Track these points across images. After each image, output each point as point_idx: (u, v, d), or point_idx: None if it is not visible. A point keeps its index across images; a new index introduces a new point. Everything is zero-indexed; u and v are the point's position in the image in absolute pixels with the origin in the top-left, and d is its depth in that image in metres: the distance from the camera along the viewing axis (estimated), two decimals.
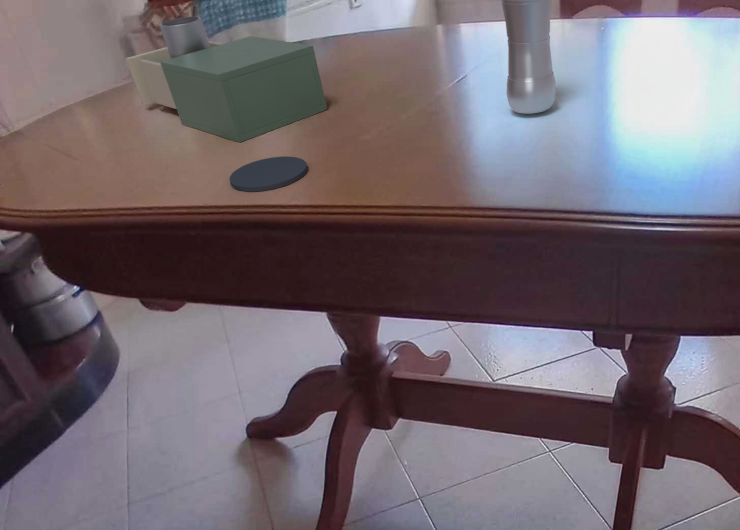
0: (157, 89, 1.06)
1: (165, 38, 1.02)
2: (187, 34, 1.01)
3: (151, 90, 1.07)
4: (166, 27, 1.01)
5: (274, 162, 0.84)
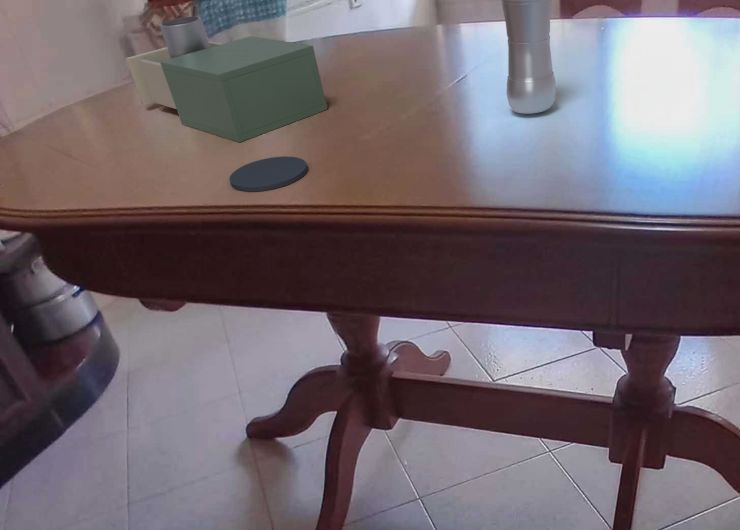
0: (157, 89, 1.06)
1: (165, 38, 1.02)
2: (187, 34, 1.01)
3: (151, 90, 1.07)
4: (166, 27, 1.01)
5: (274, 162, 0.84)
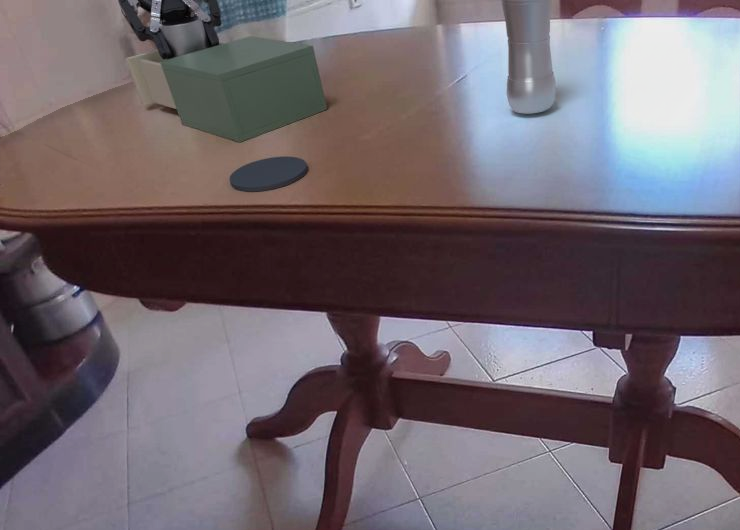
0: (157, 89, 1.06)
1: (165, 38, 1.02)
2: (186, 34, 1.01)
3: (151, 90, 1.07)
4: (166, 27, 1.01)
5: (274, 162, 0.84)
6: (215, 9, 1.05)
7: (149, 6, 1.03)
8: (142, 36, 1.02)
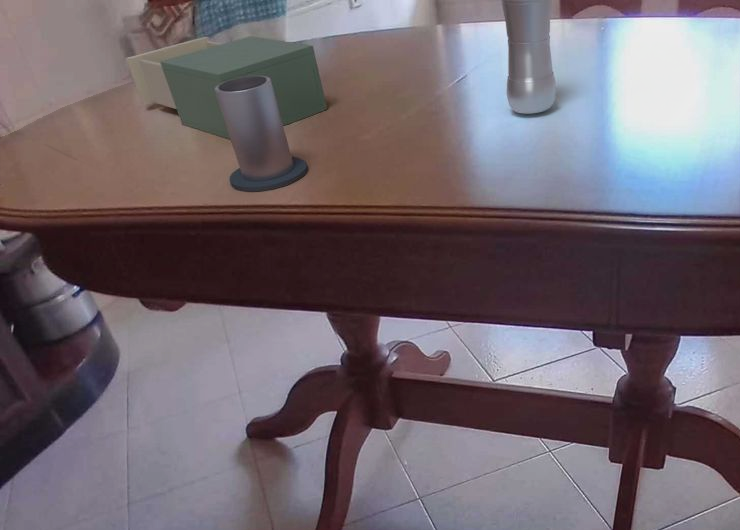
0: (157, 89, 1.06)
1: (223, 107, 0.76)
2: (252, 102, 0.75)
3: (151, 90, 1.07)
4: (225, 94, 0.74)
5: None
6: None
7: None
8: None
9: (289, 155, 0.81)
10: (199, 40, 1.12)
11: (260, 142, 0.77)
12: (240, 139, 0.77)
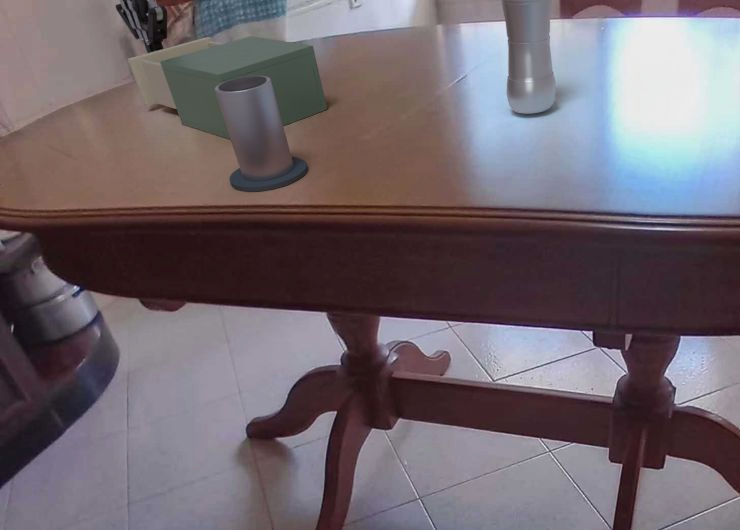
0: (159, 90, 1.05)
1: (223, 107, 0.76)
2: (252, 102, 0.75)
3: (153, 91, 1.07)
4: (225, 94, 0.74)
5: None
6: (150, 35, 1.09)
7: None
8: None
9: (289, 155, 0.81)
10: (202, 40, 1.11)
11: (260, 142, 0.77)
12: (240, 139, 0.77)
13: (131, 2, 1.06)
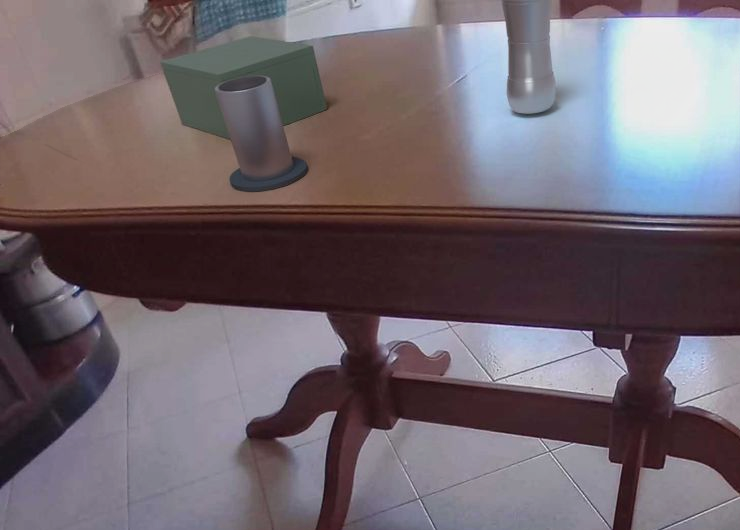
0: None
1: (223, 107, 0.76)
2: (252, 102, 0.75)
3: None
4: (225, 94, 0.74)
5: None
6: None
7: None
8: None
9: (289, 155, 0.81)
10: None
11: (260, 142, 0.77)
12: (240, 139, 0.77)
13: None
